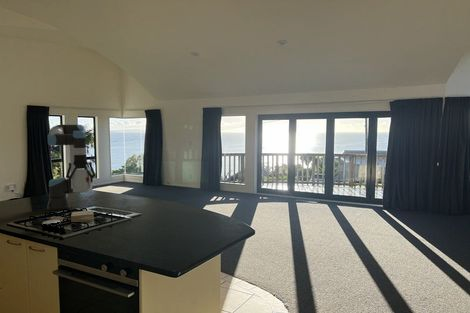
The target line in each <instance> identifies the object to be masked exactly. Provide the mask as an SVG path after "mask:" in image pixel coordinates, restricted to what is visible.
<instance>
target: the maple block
mask: <svg viewBox="0 0 470 313" xmlns="http://www.w3.org/2000/svg"><path fill="white" fill-rule="evenodd" d="M70 219H71V220H70V222H81V223H88V222H94V210H91V209H90V210H81V211H72V212H71V215H70Z"/></svg>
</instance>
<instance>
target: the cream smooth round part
mask: <svg viewBox="0 0 470 313" xmlns="http://www.w3.org/2000/svg"><path fill="white" fill-rule="evenodd" d="M57 222H60V223H61V220H60V219H48V220H45V221H42V225H43V224H50V223H57Z"/></svg>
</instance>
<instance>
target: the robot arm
mask: <svg viewBox="0 0 470 313" xmlns="http://www.w3.org/2000/svg"><path fill="white" fill-rule="evenodd" d="M48 131H49V132H48V134H47V145H48V146H53V147H54V146H69V161H70V162H69V163H68V169H67V171H66V176H64V177H58V178H53V179H50V180H49V181H48V195H49V198H48V199H49V200H48V203H47V206H46V209H47V210H48V211H59V210H60V211H61V210H66V209H69V208H70V202H69V201H68V198H67V195H72V194H82V193H84V192H73V174H74V172H75V171H76V169H85V170H87V173H88V174H89V176H90V178H89V185H90V188H91V182H92V183H93V180H94V178H95V177H96V173H95V170H94V168H93V162H92V161H90V162H89V161H88V160H87V141H86V140H87V136H86V131H85V127H84V126H83V125H82V124H64V123H63V124H57V125H54V126H53V127H51V128H50V129H49V130H48ZM87 165H88V166H89V168H87ZM88 169H91V171H92V174H91V173H90V172H89V170H88ZM72 170H73V172H72Z"/></svg>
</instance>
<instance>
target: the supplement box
mask: <svg viewBox="0 0 470 313" xmlns="http://www.w3.org/2000/svg"><path fill="white" fill-rule="evenodd" d="M87 169H88V170H89V172H90V173H91V174H92V171H91V169H90V168H87ZM72 172H73V170H72ZM92 175H93V174H92ZM89 178H90V176H89V174H88V173H87V170H85V169H84V168H82V169H76V171H75V172H74V174H73V192H83V193H88V192H91V191H93V182H91V188H90V185H89Z"/></svg>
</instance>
